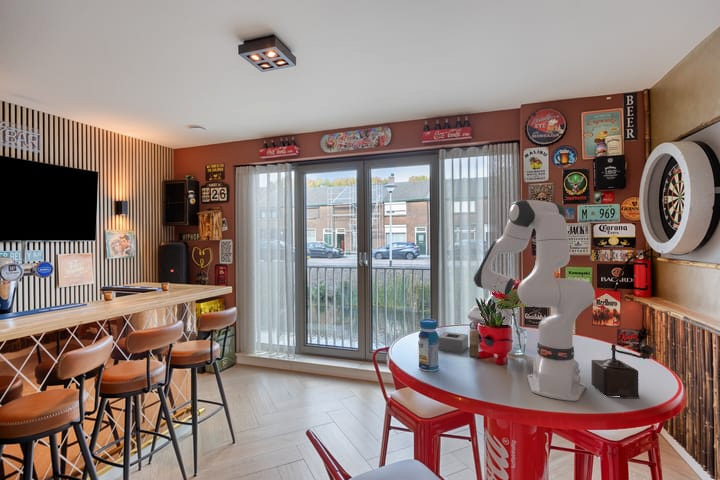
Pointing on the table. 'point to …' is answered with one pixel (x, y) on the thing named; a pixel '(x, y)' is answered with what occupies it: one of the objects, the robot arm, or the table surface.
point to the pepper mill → (618, 374)
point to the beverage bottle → (428, 345)
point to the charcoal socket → (453, 342)
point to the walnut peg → (474, 343)
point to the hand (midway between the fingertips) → (480, 330)
